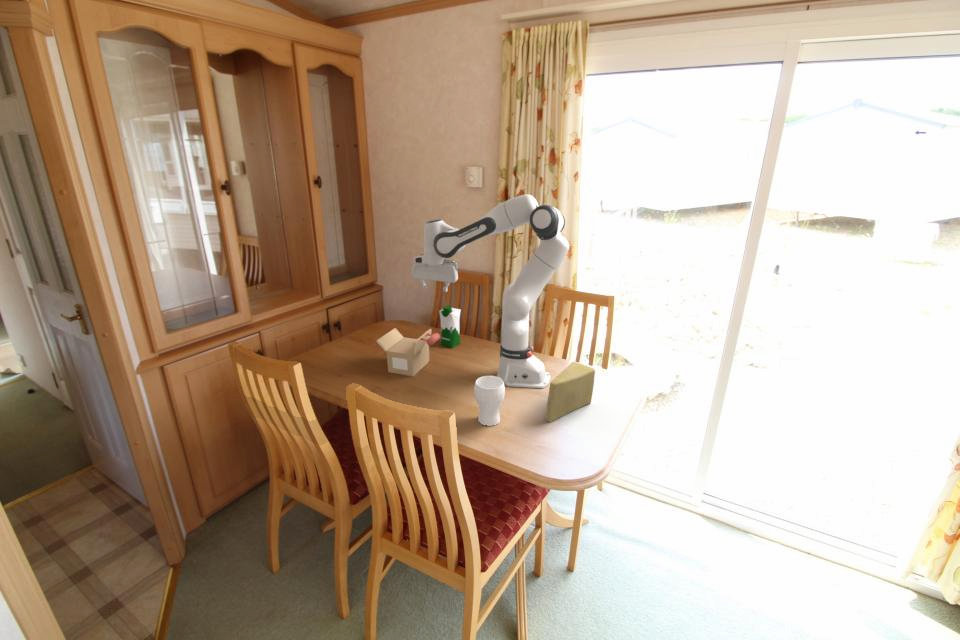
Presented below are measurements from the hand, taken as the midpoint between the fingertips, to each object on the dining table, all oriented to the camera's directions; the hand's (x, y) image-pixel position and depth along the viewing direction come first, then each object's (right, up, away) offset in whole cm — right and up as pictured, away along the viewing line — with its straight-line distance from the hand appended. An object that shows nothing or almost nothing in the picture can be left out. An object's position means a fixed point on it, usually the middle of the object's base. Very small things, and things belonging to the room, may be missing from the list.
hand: (435, 290), depth 188 cm
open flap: (-20, -21, +2) cm, 29 cm away
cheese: (+51, -46, -29) cm, 74 cm away
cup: (+23, -48, -36) cm, 64 cm away
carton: (-12, -33, +4) cm, 36 cm away
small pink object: (-5, -21, -3) cm, 22 cm away
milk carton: (+5, -25, +27) cm, 38 cm away
